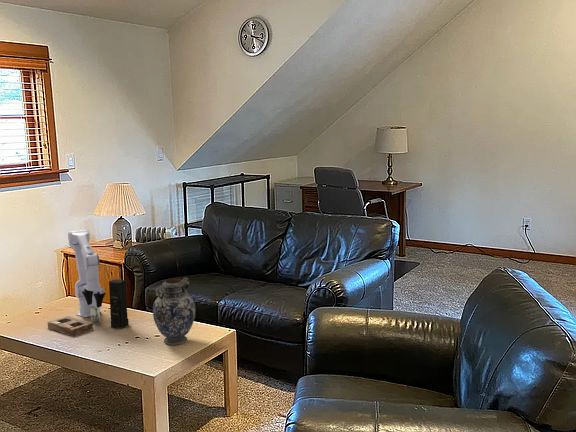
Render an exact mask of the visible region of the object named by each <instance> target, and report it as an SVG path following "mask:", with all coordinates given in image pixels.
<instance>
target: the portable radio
mask: <svg viewBox="0 0 576 432" xmlns="http://www.w3.org/2000/svg"><path fill="white" fill-rule="evenodd" d="M127 285H128V284H127V280H126V279H124V276H122V279H116V278H115V279H112V280H109V281H108V289H109V291H108V292H109V309H110V311H109V312H110V327H111V328H116V329H122V330H123V329H124V328H126V327H128V326H129V317H128V301H127V299H128V298H127Z"/></svg>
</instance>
